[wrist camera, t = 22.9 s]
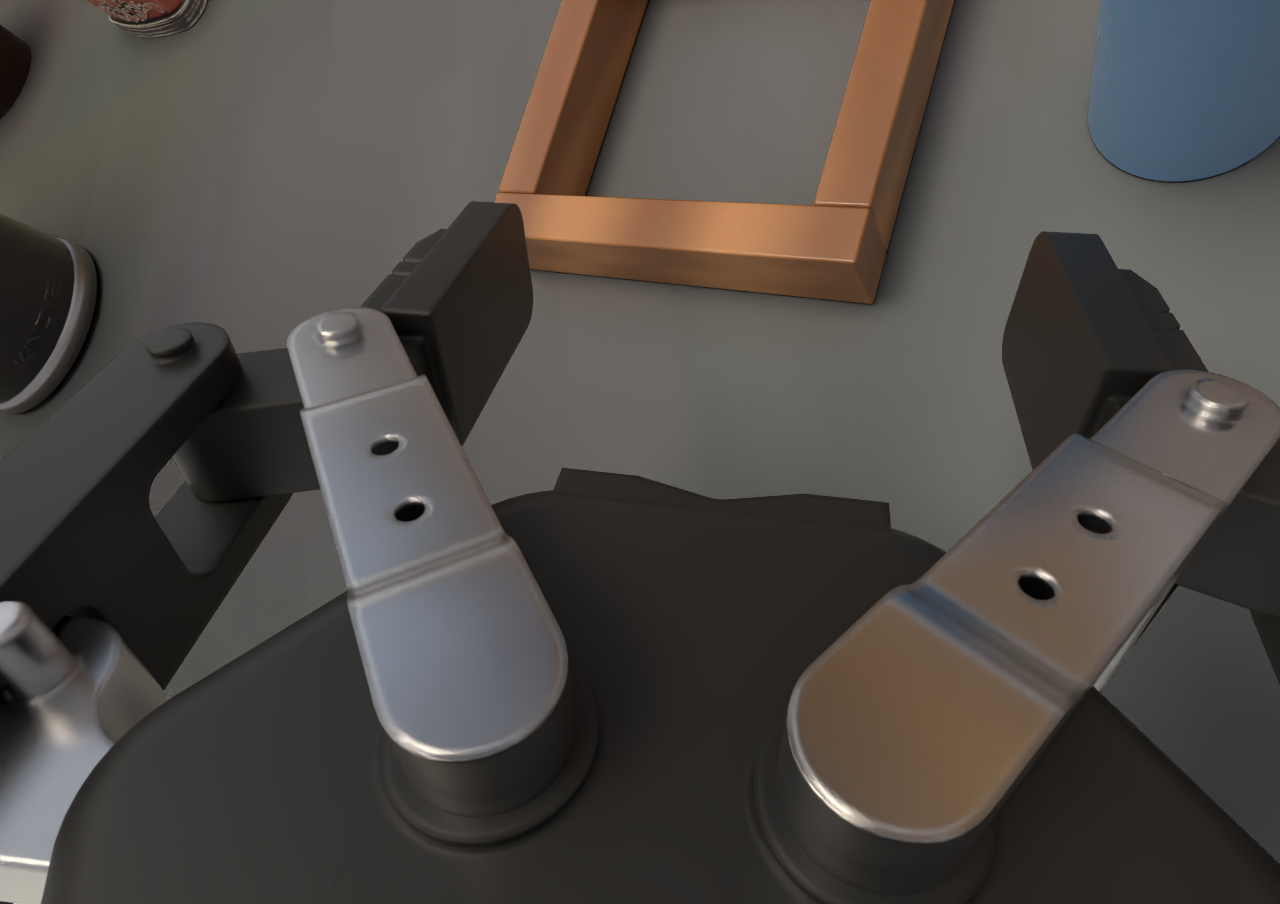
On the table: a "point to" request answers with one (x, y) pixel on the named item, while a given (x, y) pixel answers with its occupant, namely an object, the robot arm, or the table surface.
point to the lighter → (152, 15)
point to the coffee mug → (11, 67)
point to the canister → (1185, 85)
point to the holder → (721, 231)
